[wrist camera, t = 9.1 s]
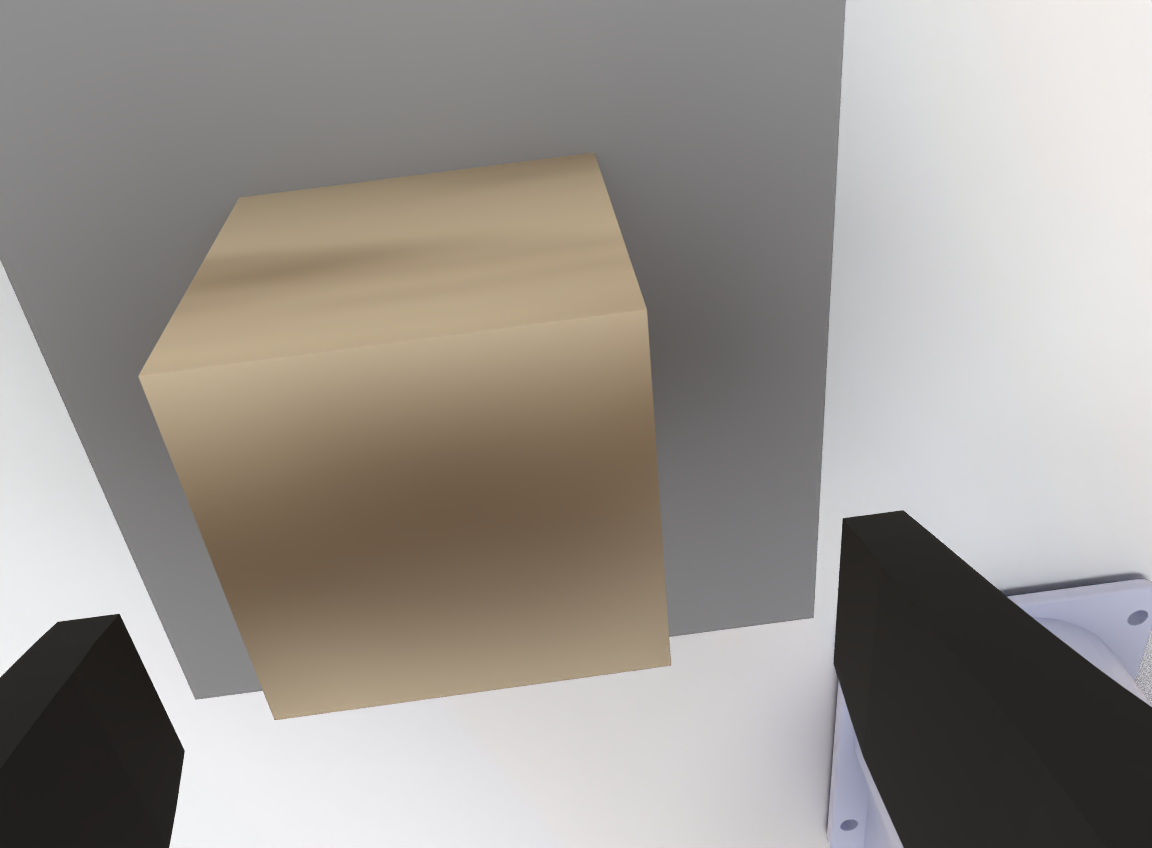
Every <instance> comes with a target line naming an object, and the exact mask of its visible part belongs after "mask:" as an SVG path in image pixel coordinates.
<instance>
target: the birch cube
mask: <svg viewBox="0 0 1152 848" xmlns="http://www.w3.org/2000/svg"><path fill="white" fill-rule="evenodd" d="M138 377H139V379H140V382H141V384H142V387H143V389H144V392H145V394H146V397H147V400H148V402H149V405H150V407H151V410H152V412H153V415H154V417H155V420H156V422H157V425H158V427H159V430H160V432H161V435H162V437H163V440H164V442H165V445H166V447H167V450H168V452H169V455H170V458H171V460H172V463H173V465H174V468H175V470H176V473H177V475H178V478H179V480H180V483H181V485H182V488H183V490H184V493H185V495H186V498H187V500H188V503H189V505H190V508H191V510H192V513H193V516H194V518H195V521H196V523H197V526H198V528H199V531H200V533H201V536H202V538H203V541H204V543H205V546H206V548H207V551H208V553H209V556H210V558H211V561H212V563H213V566H214V569H215V571H216V574H217V576H218V579H219V581H220V584H221V586H222V589H223V591H224V594H225V596H226V599H227V601H228V604H229V606H230V609H231V611H232V614H233V616H234V619H235V621H236V624H237V627H238V629H239V632H240V634H241V637H242V639H243V642H244V644H245V647H246V649H247V652H248V654H249V657H250V659H251V662H252V664H253V667H254V669H255V672H256V674H257V677H258V680H259V682H260V685H261V687H262V690H263V692H264V695H265V697H266V700H267V702H268V705H269V707H270V710H271V712H272V715H273V717H274V720H279V719H287V718H294V717H301V716H308V715H316V714H323V713H330V712H337V711H345V710H352V709H359V708H366V707H374V706H381V705H388V704H395V703H403V702H410V701H417V700H424V699H432V698H439V697H446V696H453V695H461V694H468V693H475V692H482V691H490V690H497V689H504V688H511V687H519V686H526V685H533V684H540V683H548V682H555V681H562V680H569V679H577V678H584V677H591V676H598V675H606V674H613V673H620V672H627V671H635V670H642V669H649V668H656V667H664V666H671V658H670V643H669V628H668V613H667V599H666V584H665V569H664V554H663V540H662V525H661V510H660V495H659V480H658V466H657V451H656V436H655V421H654V406H653V392H652V377H651V362H650V347H649V333H648V318H647V308H646V305H645V302H644V299H643V296H642V293H641V290H640V287H639V284H638V281H637V278H636V275H635V272H634V270H633V267H632V264H631V261H630V258H629V255H628V252H627V249H626V246H625V243H624V240H623V237H622V234H621V231H620V228H619V225H618V222H617V219H616V216H615V213H614V210H613V207H612V204H611V201H610V198H609V195H608V192H607V189H606V186H605V183H604V180H603V177H602V174H601V171H600V168H599V165H598V162H597V159H596V156H595V153H586V154H578V155H570V156H562V157H554V158H547V159H539V160H531V161H523V162H515V163H507V164H499V165H492V166H484V167H476V168H468V169H460V170H452V171H444V172H437V173H429V174H421V175H413V176H405V177H397V178H390V179H382V180H374V181H366V182H358V183H350V184H342V185H335V186H327V187H319V188H311V189H303V190H295V191H287V192H280V193H272V194H264V195H256V196H248V197H240V198H239V199H238V201H237V202H236V204H235V206H234V208H233V209H232V211H231V213H230V215H229V217H228V218H227V220H226V222H225V224H224V225H223V227H222V229H221V231H220V232H219V234H218V236H217V238H216V240H215V241H214V243H213V245H212V247H211V248H210V250H209V252H208V254H207V255H206V257H205V259H204V261H203V262H202V264H201V266H200V268H199V270H198V271H197V273H196V275H195V277H194V278H193V280H192V282H191V284H190V285H189V287H188V289H187V291H186V292H185V294H184V296H183V298H182V300H181V301H180V303H179V305H178V307H177V308H176V310H175V312H174V314H173V315H172V317H171V319H170V321H169V323H168V324H167V326H166V328H165V330H164V331H163V333H162V335H161V337H160V338H159V340H158V342H157V344H156V345H155V347H154V349H153V351H152V353H151V354H150V356H149V358H148V360H147V361H146V363H145V365H144V367H143V368H142V370H141V372H140V374H139V376H138Z"/></svg>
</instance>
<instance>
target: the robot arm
mask: <svg viewBox="0 0 1152 848" xmlns="http://www.w3.org/2000/svg"><path fill="white" fill-rule="evenodd" d="M1151 628H1152V582H1151V581H1149V580H1146V579H1135V580H1127V581H1120V582H1112V583H1105V584H1097V585H1090V586H1082V587H1074V588H1067V589H1059V590H1052V591H1044V592H1037V593H1029V594H1022V595H1014V596H1006V595H1004V594H1003V593H1002V592H1001V591H999V590H998V589H997V588H996V587H995V586H993V585H992V584H991V583H990V582H989V581H987V580H986V579H985V578H984V577H983V576H981V575H980V574H979V573H978V572H977V571H975V570H974V569H973V568H972V567H971V566H969V565H968V564H967V563H966V562H965V561H963V560H962V559H961V558H960V557H959V556H957V555H956V554H955V553H954V552H953V551H952V550H950V549H949V548H948V547H947V546H946V545H944V544H943V543H942V542H941V541H940V540H938V539H937V538H936V537H935V536H934V535H932V534H931V533H930V532H929V531H928V530H926V529H925V528H924V527H923V526H922V525H920V524H919V523H918V522H917V521H916V520H914V519H913V518H912V517H911V516H909V515H908V514H907V513H906V512H905V511H895V512H888V513H880V514H872V515H865V516H857V517H850V518H843V524H842V540H841V555H840V571H839V587H838V603H837V618H836V634H835V650H834V666H835V670H836V673H837V676H838V679H839V682H838V695H837V709H836V722H835V736H834V749H833V763H832V776H831V789H830V803H829V816H828V830H827V840H828V843H829V846H830V848H1152V704H1151V703H1150V702H1149V700H1148V699H1147V698H1146V696H1145V695H1144V694H1143V692H1142V691H1141V689H1140V688H1139V687H1138V685H1137V684H1136V683H1135V680H1136V677H1137V674H1138V670H1139V667H1140V664H1141V661H1142V657H1143V654H1144V651H1145V648H1146V645H1147V641H1148V638H1149V635H1150V632H1151ZM184 752H185V751H184V749H183V746H182V744H181V742H180V740H179V738H178V736H177V734H176V732H175V730H174V728H173V725H172V723H171V721H170V719H169V717H168V715H167V713H166V711H165V709H164V707H163V704H162V702H161V700H160V698H159V696H158V694H157V692H156V690H155V688H154V686H153V683H152V681H151V679H150V677H149V675H148V673H147V671H146V669H145V667H144V664H143V662H142V660H141V658H140V656H139V654H138V652H137V650H136V648H135V646H134V643H133V641H132V639H131V637H130V635H129V633H128V631H127V629H126V627H125V625H124V622H123V620H122V618H121V616H120V614H114V615H107V616H99V617H92V618H84V619H76V620H69V621H61V622H57V623H56V624H55V625H54V626H53V627H52V628H51V629H49V630H48V631H47V632H46V633H45V634H44V635H43V636H42V637H41V638H40V639H39V640H38V641H37V642H36V643H35V644H34V645H33V646H32V647H30V648H29V649H28V650H27V651H26V652H25V653H24V654H23V655H22V656H21V657H20V658H19V659H18V660H17V661H16V662H15V663H14V664H13V665H12V666H11V667H10V668H9V669H8V670H7V671H6V672H5V673H4V674H3V675H2V676H1V677H0V848H169V845H170V840H171V834H172V829H173V823H174V817H175V812H176V806H177V800H178V793H179V786H180V779H181V772H182V766H183V759H184Z"/></svg>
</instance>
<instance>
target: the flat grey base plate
mask: <svg viewBox="0 0 1152 848" xmlns="http://www.w3.org/2000/svg"><path fill="white" fill-rule="evenodd" d="M845 1H846V0H0V260H1V262H2V264H3V267H4V269H5V271H6V273H7V276H8V278H9V280H10V282H11V285H12V287H13V289H14V291H15V294H16V296H17V298H18V300H19V303H20V305H21V307H22V309H23V312H24V314H25V316H26V318H27V321H28V323H29V325H30V328H31V330H32V332H33V334H34V337H35V339H36V341H37V343H38V346H39V348H40V350H41V352H42V355H43V357H44V359H45V361H46V364H47V366H48V368H49V370H50V373H51V375H52V377H53V379H54V382H55V384H56V386H57V388H58V391H59V393H60V395H61V397H62V400H63V402H64V404H65V406H66V409H67V411H68V413H69V415H70V418H71V420H72V422H73V424H74V427H75V429H76V431H77V434H78V436H79V438H80V440H81V443H82V445H83V447H84V449H85V452H86V454H87V456H88V458H89V461H90V463H91V465H92V467H93V470H94V472H95V474H96V476H97V479H98V481H99V483H100V485H101V488H102V490H103V492H104V494H105V497H106V499H107V501H108V503H109V506H110V508H111V510H112V512H113V515H114V517H115V519H116V521H117V524H118V526H119V528H120V530H121V533H122V535H123V537H124V539H125V542H126V544H127V546H128V549H129V551H130V553H131V555H132V558H133V560H134V562H135V564H136V567H137V569H138V571H139V573H140V576H141V578H142V580H143V582H144V585H145V587H146V589H147V591H148V594H149V596H150V598H151V600H152V603H153V605H154V607H155V609H156V612H157V614H158V616H159V618H160V621H161V623H162V625H163V627H164V630H165V632H166V634H167V636H168V639H169V641H170V643H171V645H172V648H173V650H174V652H175V655H176V657H177V659H178V661H179V664H180V666H181V668H182V670H183V673H184V675H185V677H186V679H187V682H188V684H189V686H190V688H191V691H192V693H193V695H194V697H195V700H196V699H204V698H211V697H219V696H226V695H234V694H241V693H249V692H257V691H263V690H262V687H261V685H260V682H259V680H258V677H257V674H256V672H255V669H254V667H253V664H252V662H251V659H250V657H249V654H248V652H247V649H246V647H245V644H244V642H243V639H242V637H241V634H240V632H239V629H238V627H237V624H236V621H235V619H234V616H233V614H232V611H231V609H230V606H229V604H228V601H227V599H226V596H225V594H224V591H223V589H222V586H221V584H220V581H219V579H218V576H217V574H216V571H215V569H214V566H213V563H212V561H211V558H210V556H209V553H208V551H207V548H206V546H205V543H204V541H203V538H202V536H201V533H200V531H199V528H198V526H197V523H196V521H195V518H194V516H193V513H192V510H191V508H190V505H189V503H188V500H187V498H186V495H185V493H184V490H183V488H182V485H181V483H180V480H179V478H178V475H177V473H176V470H175V468H174V465H173V463H172V460H171V458H170V455H169V452H168V450H167V447H166V445H165V442H164V440H163V437H162V435H161V432H160V430H159V427H158V425H157V422H156V420H155V417H154V415H153V412H152V410H151V407H150V405H149V402H148V400H147V397H146V394H145V392H144V389H143V387H142V384H141V382H140V379H139V377H138V376H139V374H140V372H141V370H142V368H143V367H144V365H145V363H146V361H147V360H148V358H149V356H150V354H151V353H152V351H153V349H154V347H155V345H156V344H157V342H158V340H159V338H160V337H161V335H162V333H163V331H164V330H165V328H166V326H167V324H168V323H169V321H170V319H171V317H172V315H173V314H174V312H175V310H176V308H177V307H178V305H179V303H180V301H181V300H182V298H183V296H184V294H185V292H186V291H187V289H188V287H189V285H190V284H191V282H192V280H193V278H194V277H195V275H196V273H197V271H198V270H199V268H200V266H201V264H202V262H203V261H204V259H205V257H206V255H207V254H208V252H209V250H210V248H211V247H212V245H213V243H214V241H215V240H216V238H217V236H218V234H219V232H220V231H221V229H222V227H223V225H224V224H225V222H226V220H227V218H228V217H229V215H230V213H231V211H232V209H233V208H234V206H235V204H236V202H237V201H238V199H239V198H240V197H248V196H256V195H264V194H272V193H280V192H287V191H295V190H303V189H311V188H319V187H327V186H335V185H342V184H350V183H358V182H366V181H374V180H382V179H390V178H397V177H405V176H413V175H421V174H429V173H437V172H444V171H452V170H460V169H468V168H476V167H484V166H492V165H499V164H507V163H515V162H523V161H531V160H539V159H547V158H554V157H562V156H570V155H578V154H586V153H595V156H596V159H597V162H598V165H599V168H600V171H601V174H602V177H603V180H604V183H605V186H606V189H607V192H608V195H609V198H610V201H611V204H612V207H613V210H614V213H615V216H616V219H617V222H618V225H619V228H620V231H621V234H622V237H623V240H624V243H625V246H626V249H627V252H628V255H629V258H630V261H631V264H632V267H633V270H634V272H635V275H636V278H637V281H638V284H639V287H640V290H641V293H642V296H643V299H644V302H645V305H646V308H647V318H648V333H649V347H650V362H651V377H652V392H653V406H654V421H655V436H656V451H657V466H658V480H659V495H660V510H661V525H662V540H663V554H664V569H665V584H666V599H667V613H668V628H669V637H672V636H679V635H687V634H694V633H702V632H710V631H717V630H725V629H732V628H740V627H747V626H755V625H762V624H770V623H777V622H785V621H793V620H800V619H808V618H814V599H815V580H816V561H817V541H818V522H819V503H820V483H821V464H822V445H823V425H824V406H825V387H826V368H827V348H828V329H829V310H830V290H831V271H832V252H833V232H834V213H835V194H836V175H837V155H838V136H839V117H840V97H841V78H842V59H843V39H844V20H845Z"/></svg>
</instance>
